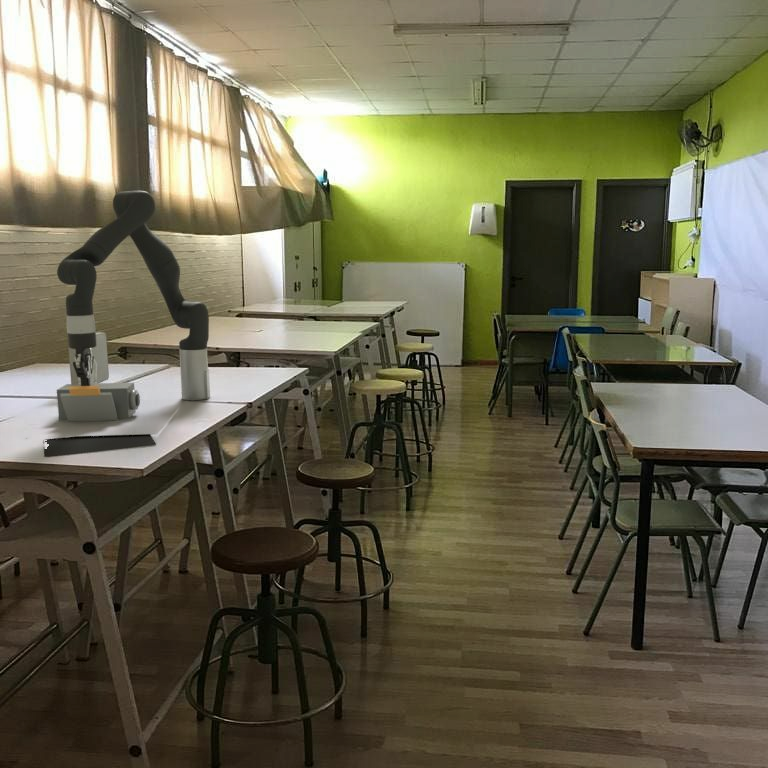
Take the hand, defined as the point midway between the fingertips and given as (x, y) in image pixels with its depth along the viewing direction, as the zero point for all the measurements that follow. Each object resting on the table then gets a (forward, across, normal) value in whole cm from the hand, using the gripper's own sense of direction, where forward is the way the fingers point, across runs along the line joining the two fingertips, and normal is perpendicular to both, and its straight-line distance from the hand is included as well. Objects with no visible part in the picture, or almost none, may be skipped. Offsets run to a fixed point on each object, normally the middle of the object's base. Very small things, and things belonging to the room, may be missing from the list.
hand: (86, 390), depth 217 cm
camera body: (+11, +11, -1) cm, 15 cm away
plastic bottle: (+11, +23, +6) cm, 27 cm away
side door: (+10, +5, 0) cm, 11 cm away
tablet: (+11, -20, -8) cm, 25 cm away
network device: (+12, +63, +16) cm, 66 cm away
